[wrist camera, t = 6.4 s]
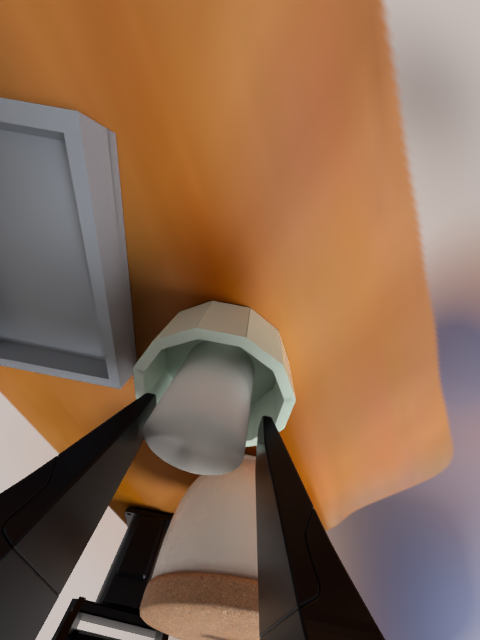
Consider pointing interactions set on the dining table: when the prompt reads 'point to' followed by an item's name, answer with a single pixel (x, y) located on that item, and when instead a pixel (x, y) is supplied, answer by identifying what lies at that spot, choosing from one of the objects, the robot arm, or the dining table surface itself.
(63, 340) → the parts tray
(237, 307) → the bowl
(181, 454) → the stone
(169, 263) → the dining table surface
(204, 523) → the lidded jar
